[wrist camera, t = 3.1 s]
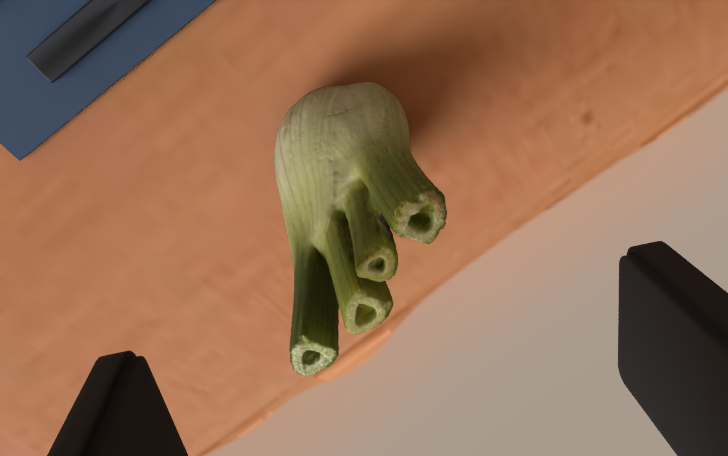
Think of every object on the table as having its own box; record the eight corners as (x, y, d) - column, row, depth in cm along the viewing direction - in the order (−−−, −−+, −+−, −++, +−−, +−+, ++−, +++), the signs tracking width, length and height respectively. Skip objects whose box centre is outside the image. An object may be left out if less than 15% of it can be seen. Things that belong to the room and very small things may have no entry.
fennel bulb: (305, 215, 25) (310, 411, 15) (243, 120, 23) (195, 267, 13) (423, 152, 25) (519, 309, 14) (369, 48, 23) (434, 138, 12)
